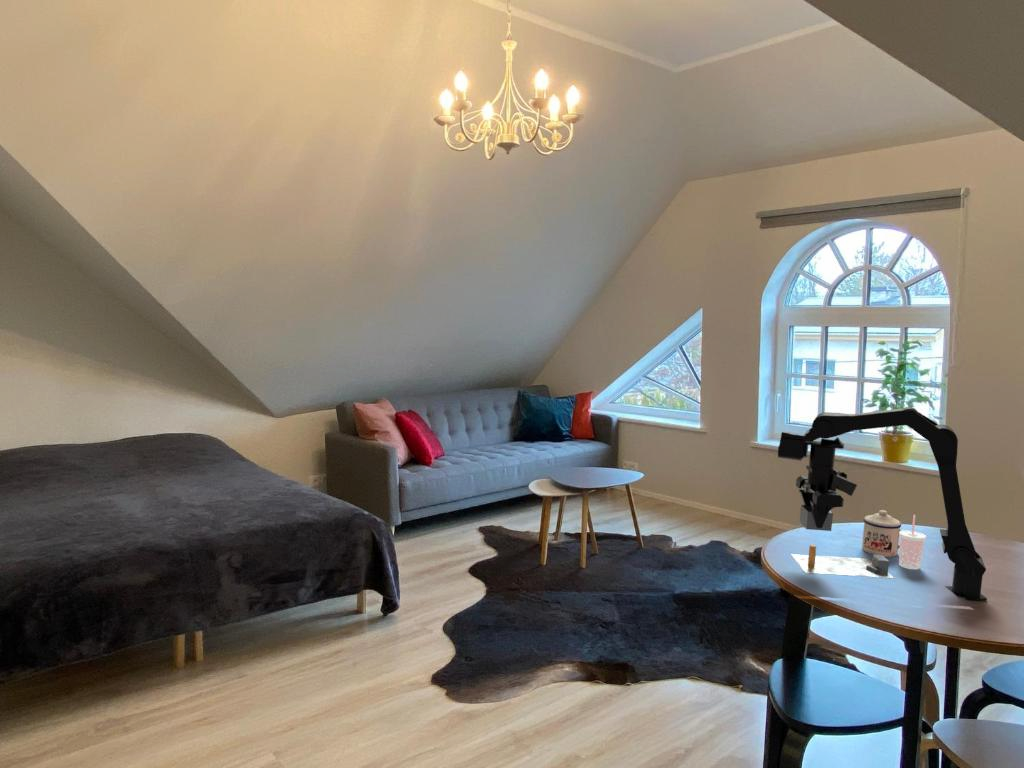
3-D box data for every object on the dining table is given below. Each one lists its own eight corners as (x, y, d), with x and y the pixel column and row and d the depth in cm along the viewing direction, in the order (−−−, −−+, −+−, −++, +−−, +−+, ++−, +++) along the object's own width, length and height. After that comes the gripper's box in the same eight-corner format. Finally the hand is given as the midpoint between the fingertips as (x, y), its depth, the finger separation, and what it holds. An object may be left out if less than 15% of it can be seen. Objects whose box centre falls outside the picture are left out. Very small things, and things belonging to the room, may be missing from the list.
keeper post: (815, 566, 188) (817, 547, 187) (808, 566, 188) (810, 547, 187) (813, 564, 189) (815, 545, 189) (807, 563, 189) (808, 544, 189)
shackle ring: (831, 531, 184) (833, 513, 184) (806, 529, 185) (807, 511, 184) (823, 523, 190) (825, 506, 190) (799, 521, 191) (801, 504, 190)
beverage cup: (926, 573, 187) (931, 519, 185) (899, 571, 188) (905, 517, 186) (918, 565, 193) (923, 512, 191) (892, 562, 194) (897, 510, 192)
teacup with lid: (857, 553, 200) (861, 511, 199) (864, 544, 208) (868, 504, 206) (907, 564, 193) (911, 520, 192) (913, 554, 201) (917, 512, 199)
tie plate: (893, 580, 182) (895, 566, 181) (805, 574, 184) (806, 560, 183) (873, 561, 194) (874, 547, 194) (790, 556, 196) (791, 543, 196)
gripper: (869, 474, 175) (862, 538, 177) (842, 457, 194) (836, 515, 196) (820, 471, 176) (814, 535, 178) (798, 454, 195) (792, 512, 197)
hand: (815, 523), depth 187 cm, fingers closed on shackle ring, 6 cm apart
